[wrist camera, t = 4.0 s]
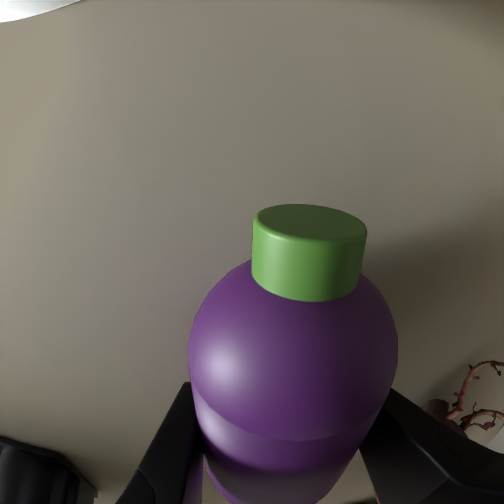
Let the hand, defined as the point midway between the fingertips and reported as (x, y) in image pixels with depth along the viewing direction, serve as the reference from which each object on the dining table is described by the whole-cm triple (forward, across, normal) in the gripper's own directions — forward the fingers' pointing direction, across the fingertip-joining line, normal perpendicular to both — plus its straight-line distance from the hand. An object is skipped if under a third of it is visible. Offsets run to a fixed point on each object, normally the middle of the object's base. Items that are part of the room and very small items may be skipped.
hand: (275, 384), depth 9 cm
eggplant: (+1, 0, 0) cm, 1 cm away
